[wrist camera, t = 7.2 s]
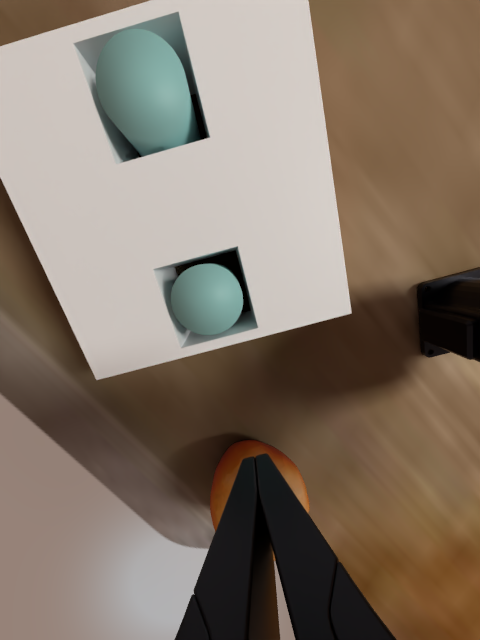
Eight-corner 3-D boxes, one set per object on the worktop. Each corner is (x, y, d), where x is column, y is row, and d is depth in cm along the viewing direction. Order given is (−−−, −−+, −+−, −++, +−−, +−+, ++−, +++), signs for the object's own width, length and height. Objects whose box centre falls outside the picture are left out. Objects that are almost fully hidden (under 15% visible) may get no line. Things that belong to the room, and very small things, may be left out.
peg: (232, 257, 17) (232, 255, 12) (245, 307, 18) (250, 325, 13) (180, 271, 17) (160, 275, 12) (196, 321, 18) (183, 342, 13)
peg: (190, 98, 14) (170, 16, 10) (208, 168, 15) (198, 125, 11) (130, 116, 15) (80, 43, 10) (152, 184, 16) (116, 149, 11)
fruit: (183, 500, 21) (195, 569, 14) (223, 417, 24) (251, 438, 16) (255, 531, 23) (301, 610, 15) (285, 450, 25) (336, 482, 18)
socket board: (277, 57, 14) (301, -46, 10) (319, 299, 18) (351, 313, 14) (38, 127, 15) (-54, 62, 10) (130, 349, 19) (96, 380, 14)
